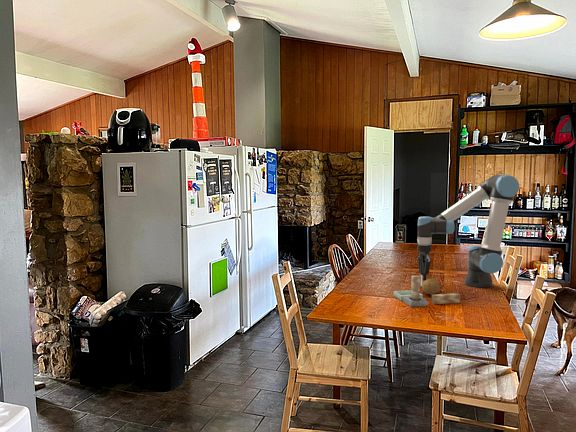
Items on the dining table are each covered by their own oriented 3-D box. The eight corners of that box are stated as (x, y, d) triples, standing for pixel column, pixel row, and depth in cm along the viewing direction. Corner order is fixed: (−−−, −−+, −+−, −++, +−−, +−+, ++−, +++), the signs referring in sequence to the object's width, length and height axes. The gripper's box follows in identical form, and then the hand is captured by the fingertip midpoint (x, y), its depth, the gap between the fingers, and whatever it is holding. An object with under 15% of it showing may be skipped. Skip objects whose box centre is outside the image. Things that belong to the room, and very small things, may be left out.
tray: (414, 294, 246) (414, 290, 246) (422, 299, 236) (422, 294, 236) (393, 295, 244) (393, 291, 244) (401, 300, 234) (401, 296, 234)
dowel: (417, 302, 232) (417, 275, 230) (420, 304, 228) (421, 277, 226) (409, 302, 231) (410, 275, 230) (413, 304, 227) (413, 277, 226)
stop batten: (456, 300, 234) (457, 293, 233) (460, 302, 231) (460, 294, 230) (431, 302, 231) (431, 294, 231) (434, 304, 228) (434, 296, 228)
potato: (419, 296, 242) (420, 281, 241) (423, 290, 255) (423, 276, 254) (438, 298, 238) (439, 283, 238) (441, 291, 251) (441, 277, 250)
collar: (419, 300, 234) (419, 295, 234) (427, 305, 226) (427, 300, 225) (403, 301, 233) (403, 296, 233) (410, 306, 224) (410, 301, 224)
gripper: (412, 242, 259) (412, 283, 261) (423, 246, 246) (422, 289, 248) (425, 242, 260) (424, 282, 262) (436, 245, 247) (435, 288, 249)
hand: (423, 285), depth 255 cm, fingers closed
